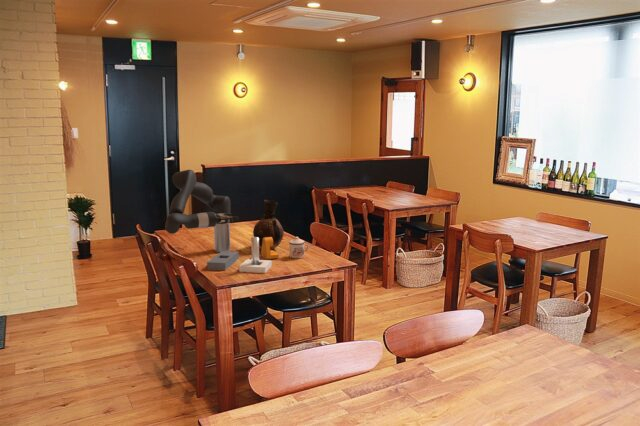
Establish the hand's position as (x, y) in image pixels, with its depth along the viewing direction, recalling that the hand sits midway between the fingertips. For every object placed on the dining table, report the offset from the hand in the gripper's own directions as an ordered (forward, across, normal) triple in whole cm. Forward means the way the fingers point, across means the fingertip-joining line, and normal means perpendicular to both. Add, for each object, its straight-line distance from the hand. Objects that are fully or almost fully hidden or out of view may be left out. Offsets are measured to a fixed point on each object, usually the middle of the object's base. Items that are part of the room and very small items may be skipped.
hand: (235, 216), depth 294 cm
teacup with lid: (+43, +10, +30) cm, 54 cm away
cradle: (+11, 0, +30) cm, 31 cm away
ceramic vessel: (+36, +36, +30) cm, 59 cm away
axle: (+11, 0, +30) cm, 31 cm away
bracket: (+28, +17, +30) cm, 44 cm away
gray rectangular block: (0, +17, +30) cm, 34 cm away
